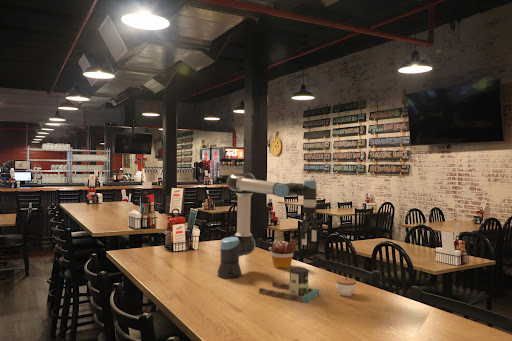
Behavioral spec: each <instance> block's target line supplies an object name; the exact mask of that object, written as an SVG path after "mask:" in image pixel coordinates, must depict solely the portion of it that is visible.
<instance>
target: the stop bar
mask: <svg viewBox="0 0 512 341" xmlns="http://www.w3.org/2000/svg"><path fill="white" fill-rule="evenodd" d="M313 289H314V290H312V291H311V292H309V293H307V294H306V295H304V296H303V300H302V302H301V303H304V304H307V303H308V302H310V301H311V300H313V299H315V298H317V296H319V295H318V294H319V293H320V292H319V293H318V291H320V290H319V288H313ZM304 299H305V300H304Z"/></svg>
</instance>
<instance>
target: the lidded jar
mask: <svg viewBox="0 0 512 341" xmlns="http://www.w3.org/2000/svg"><path fill="white" fill-rule="evenodd" d="M335 283H336V284H335V285H336V290H337V292H338V293H339V295H340V296H342V297H352V296H353V294H354V293H355V292H356V289H357V288H356V287H357V280H356V279H354V278H351V277H347V276H345V277H337V278H336V279H335Z"/></svg>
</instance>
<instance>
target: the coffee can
mask: <svg viewBox="0 0 512 341" xmlns="http://www.w3.org/2000/svg"><path fill="white" fill-rule="evenodd" d="M288 270H289V271H288V272H289V283H288V284H289V290H288V291H289V294H293V295H298V296H304V295H306V294H307V293H308V288H309V269H308V268H305V267H298V266H297V267H291V268H290V267H289V268H288Z"/></svg>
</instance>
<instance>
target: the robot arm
mask: <svg viewBox="0 0 512 341" xmlns="http://www.w3.org/2000/svg"><path fill="white" fill-rule="evenodd" d="M226 186H227V188H228V189H230V190H231V191H232V192H235V195H237V210H236V212H237V214H236V215H237V217H236V233H235V234H234V236H229V237H224V238H222V239H221V241H220V246H219V247H220V264H219V267H218V270H217V277H219V278H223V279H238V278H241V277H242V269H241V266H240V257H243V256H247V255H250V254H252V253H253V252H254V250H255V249H256V240H255V238H254V237H253V234H252V233H251V203H252V202H251V198H252V195H253V194H254V193H260V194H266V195H272V196H276V197H278V198H285V197H294V196H295V197H298V196H299V197H303V200H302V201H303V203H302V204H303V208H302V210H303V211H302V213H303V214H305V215H302V219H301V220H302V221H301V226H300V229H299V233H300V234H301V245H304V246H307V245H308V244H307V243H308V239H307V238H308V236H307V235H308V233H307V231H308V228H309V225H310V226H311V242H317V231H319V224H318V219H317V207H316V206H317V203H318V201H317V181H316V180H311V179H310V180H309V179H305V180H303V183H300V182H299V183H298V182H297V183H296V182H288V183H287V182H286V183H283V182H276V181H269V180H261V179H256V177H255V176H254V175H253V173H249V172H241V173H240V172H234V173H231V174H230V175H229V176H228V177H227V179H226Z"/></svg>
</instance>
